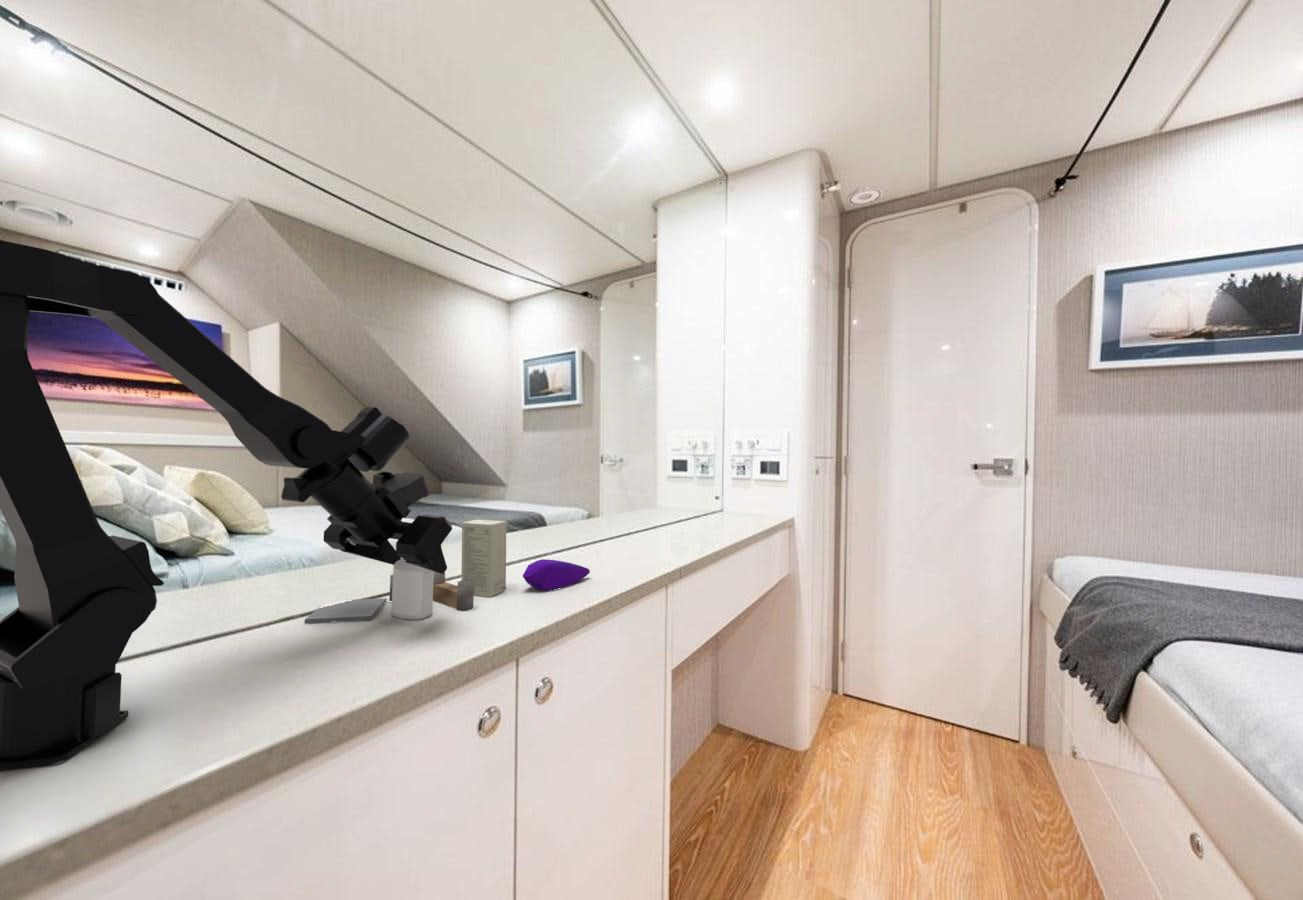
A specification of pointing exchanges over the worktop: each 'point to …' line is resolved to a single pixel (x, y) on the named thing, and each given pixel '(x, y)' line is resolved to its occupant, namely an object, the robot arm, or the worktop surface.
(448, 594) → the rail
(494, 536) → the skincare box
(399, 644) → the worktop surface
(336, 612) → the coaster
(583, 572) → the purple faceted pebble
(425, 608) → the eye dropper bottle
